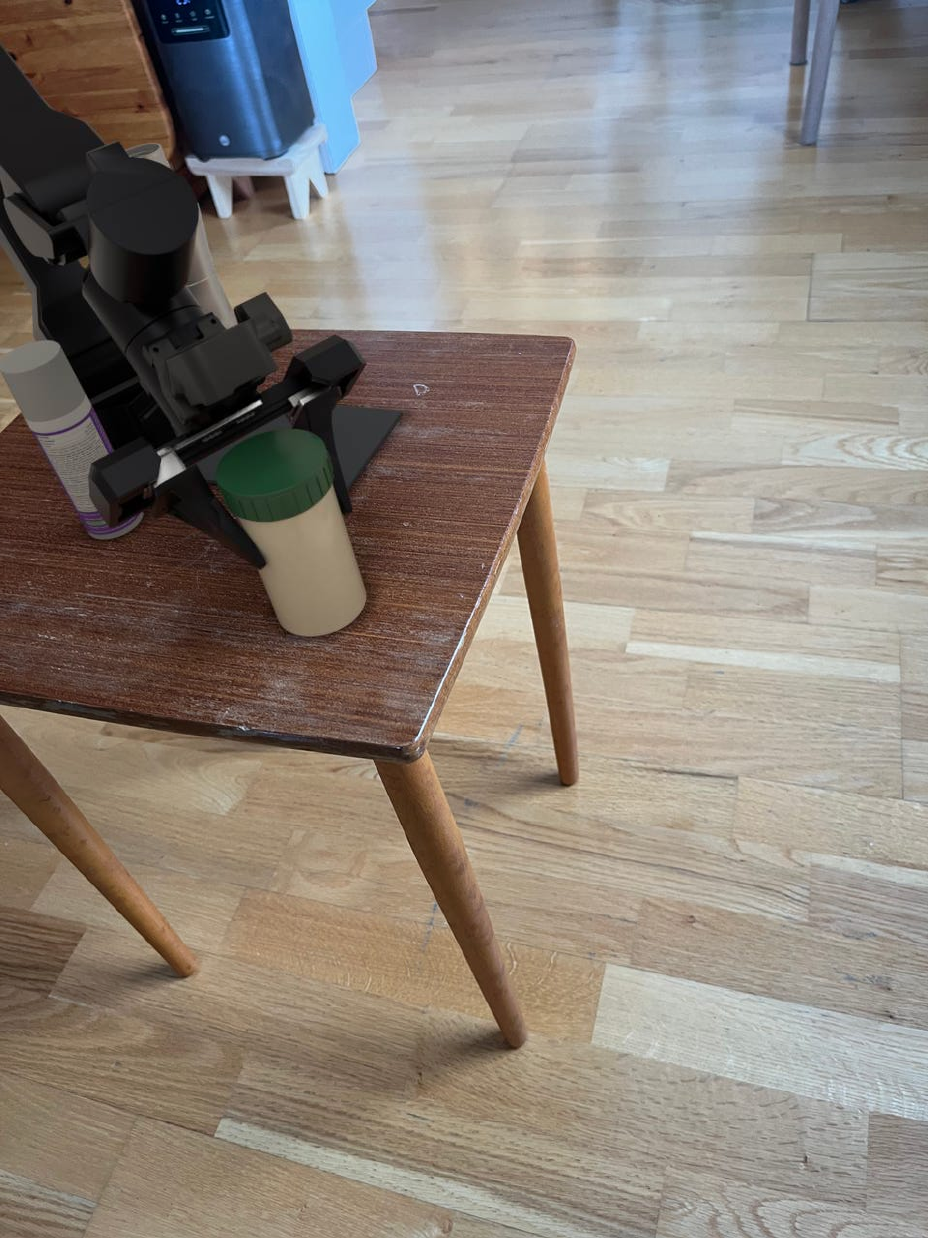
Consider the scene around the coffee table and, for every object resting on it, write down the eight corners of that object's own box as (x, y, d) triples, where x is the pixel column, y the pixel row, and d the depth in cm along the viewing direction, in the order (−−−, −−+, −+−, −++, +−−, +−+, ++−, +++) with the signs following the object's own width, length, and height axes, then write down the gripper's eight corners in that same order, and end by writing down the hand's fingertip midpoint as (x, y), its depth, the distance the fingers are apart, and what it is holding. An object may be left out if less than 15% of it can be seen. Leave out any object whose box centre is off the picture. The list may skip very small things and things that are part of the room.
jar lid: (204, 515, 59) (192, 489, 57) (260, 449, 63) (251, 423, 62) (301, 529, 56) (292, 502, 55) (353, 459, 60) (345, 433, 59)
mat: (157, 476, 81) (155, 473, 81) (229, 399, 89) (228, 395, 89) (341, 500, 75) (340, 496, 75) (403, 414, 82) (402, 410, 82)
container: (97, 506, 80) (10, 343, 69) (150, 500, 79) (70, 335, 69) (79, 542, 76) (-15, 377, 66) (134, 536, 76) (48, 369, 65)
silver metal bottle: (238, 378, 91) (160, 162, 77) (175, 380, 93) (87, 169, 79) (261, 344, 96) (191, 133, 82) (200, 346, 97) (121, 140, 84)
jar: (260, 628, 66) (201, 492, 58) (303, 567, 70) (254, 431, 62) (341, 644, 63) (292, 504, 55) (381, 579, 67) (341, 440, 59)
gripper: (16, 342, 49) (192, 592, 50) (311, 206, 56) (459, 428, 57) (32, 420, 59) (177, 627, 60) (279, 297, 67) (406, 484, 67)
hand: (306, 540), depth 61 cm, fingers closed on jar, 6 cm apart
